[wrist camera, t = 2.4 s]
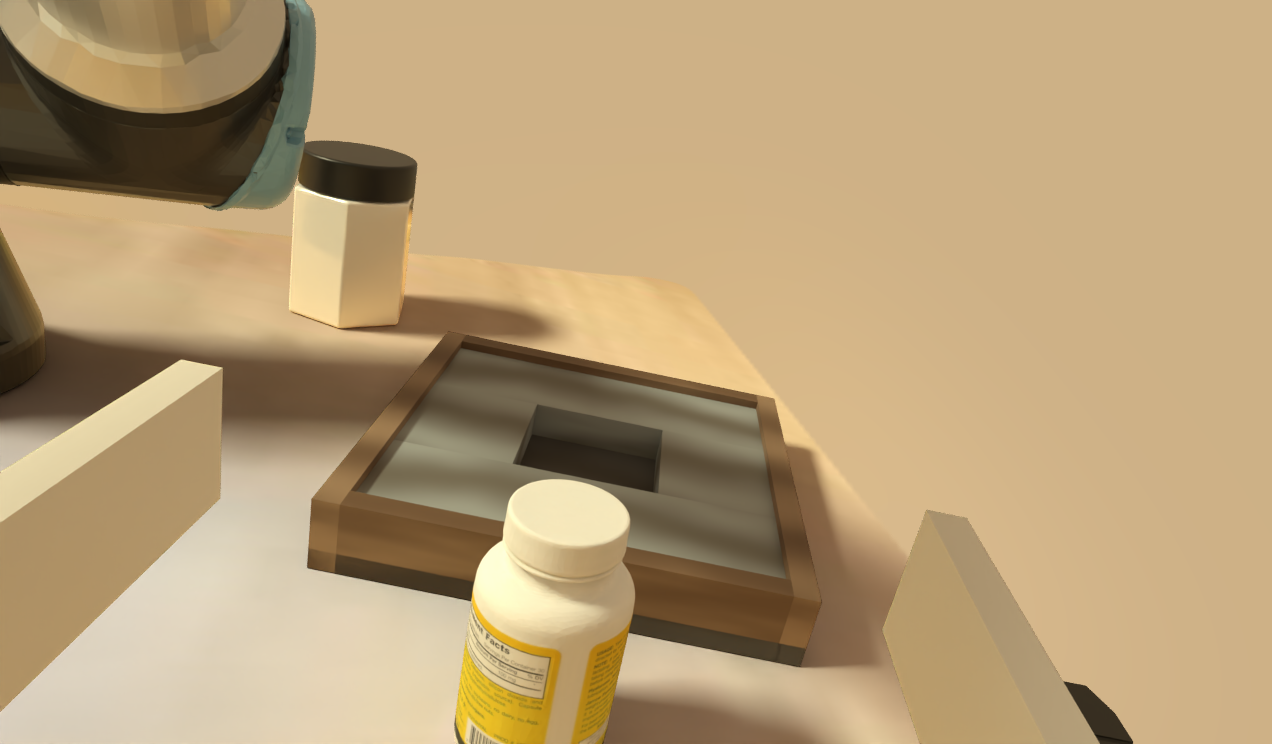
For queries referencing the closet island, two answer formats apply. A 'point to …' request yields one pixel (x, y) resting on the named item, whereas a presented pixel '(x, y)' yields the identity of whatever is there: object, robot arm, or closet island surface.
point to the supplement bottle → (548, 620)
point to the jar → (351, 234)
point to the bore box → (589, 453)
